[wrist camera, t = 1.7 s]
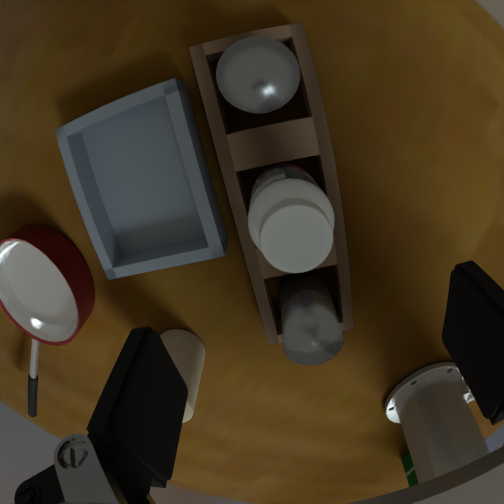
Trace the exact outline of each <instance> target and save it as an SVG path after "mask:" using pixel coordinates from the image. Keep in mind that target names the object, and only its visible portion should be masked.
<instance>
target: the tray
mask: <svg viewBox="0 0 504 504" xmlns="http://www.w3.org/2000/svg"><path fill="white" fill-rule="evenodd" d="M55 133H56V137H57V140H58V144H59V148H60V151H61V155H62V158H63V161H64V165H65V168H66V171H67V174H68V177H69V181H70V184H71V187H72V190H73V193H74V195H75V198H76V201H77V204H78V207H79V210H80V212H81V215H82V218H83V220H84V223H85V226H86V228H87V231H88V233H89V236H90V238H91V241H92V243H93V246H94V248H95V250H96V253H97V255H98V258H99V260H100V262H101V264H102V267H103V269H104V271H105V273H106V276H107V278H108V280H110V279H115V278H120V277H125V276H130V275H135V274H140V273H145V272H150V271H155V270H159V269H164V268H169V267H174V266H179V265H184V264H189V263H194V262H199V261H204V260H209V259H214V258H219V257H224V256H225V254H226V250H227V246H228V242H229V241H228V237H227V234H226V230H225V227H224V223H223V220H222V216H221V212H220V209H219V205H218V202H217V198H216V195H215V191H214V188H213V184H212V180H211V177H210V173H209V170H208V166H207V162H206V159H205V155H204V151H203V148H202V144H201V140H200V137H199V133H198V129H197V125H196V122H195V118H194V114H193V110H192V107H191V103H190V99H189V95H188V91H187V88H186V84H185V82H184V81H182V80H179V79H176V78H173V79H170V80H168V81H165V82H162V83H159V84H156V85H153V86H151V87H148V88H145V89H143V90H140V91H138V92H135V93H133V94H130V95H128V96H125V97H123V98H121V99H118V100H116V101H114V102H111V103H109V104H107V105H104V106H102V107H100V108H98V109H96V110H94V111H92V112H89V113H87V114H85V115H83V116H81V117H79V118H77V119H75V120H73V121H71V122H69V123H68V124H66V125H64V126H62V127H60V128H58V129H56V130H55Z"/></svg>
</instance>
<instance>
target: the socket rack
mask: <svg viewBox="0 0 504 504" xmlns="http://www.w3.org/2000/svg"><path fill="white" fill-rule="evenodd" d="M258 36H260V37H267V38H271V39H274V40H277V41H279V42H281V43H282V44H284V45H286V44H289V45H290V48H291V52H292V53H293V54H294V56H295V58H296V60H297V62H298V65H299V69H300V81H299V83H300V87H301V91H302V95H303V100H304V104H305V108H306V113H307V117H303V118H297V119H292V120H286V121H281V122H276V123H272V124H267V125H262V126H258V127H253V128H249V129H244V130H240V131H236V132H232V133H230V132H229V128H228V124H227V120H226V116H225V113H224V109H223V105H222V101H221V97H220V93H219V89H218V86H217V82H216V78H215V74H214V70H213V66H212V63H211V61H213V60H216V59H220V58H221V56H222V54H223V53H224V52H225V51H226V50H227V49H228V48H229V47H230V46H231V45H232V44H234V43H235V42H237V41H239V40H242V39H245V38H248V37H258ZM189 50H190V54H191V58H192V62H193V66H194V69H195V73H196V77H197V81H198V85H199V89H200V92H201V96H202V100H203V104H204V108H205V112H206V115H207V119H208V123H209V127H210V130H211V134H212V138H213V142H214V146H215V149H216V153H217V157H218V161H219V164H220V168H221V172H222V176H223V179H224V183H225V187H226V190H227V194H228V198H229V202H230V205H231V209H232V213H233V216H234V220H235V224H236V227H237V231H238V235H239V238H240V242H241V246H242V249H243V253H244V257H245V260H246V264H247V268H248V271H249V275H250V279H251V282H252V286H253V289H254V293H255V297H256V300H257V304H258V307H259V311H260V315H261V318H262V322H263V325H264V329H265V333H266V336H267V340H268V343H269V345H272V344H278V343H283V331H282V318H281V319H276V315H275V311H274V307H273V303H272V299H271V295H270V291H269V287H268V283H267V278H271V277H276V276H281V275H286V274H292V273H289V272H284V271H281V270H279V269H277V268H275V267H274V266H272V265H271V264H270V263H269V262H268V261H267V259H266V258H265V257H264V255H263V253H262V252H261V251H260V250H259V249H258V247H257V246H256V245H255V243H254V242H253V240H252V238H251V235H250V232H249V228H248V214H249V206H248V203H247V199H246V195H245V191H244V187H243V183H242V179H241V175H240V171H242V170H247V169H251V168H255V167H260V166H265V165H269V164H274V163H279V162H284V161H288V160H294V159H299V158H304V157H309V156H316V161H317V166H318V171H319V177H320V182H321V188H322V191H323V192H324V193H325V194H326V196H327V197H328V199H329V201H330V203H331V205H332V208H333V212H334V229H333V244H332V248H331V250H330V252H329V254H328V256H327V257H326V259H325V260H324V261H323V262H322V263H321V264H320V265H318V266H317V267H315V268H313V269H316V268H321V267H326V266H331V265H333V267H334V275H335V284H336V293H337V302H338V307H337V308H335V311H336V314H337V318H338V321H339V324H340V327H341V330H342V331H345V330H349V329H354V319H353V304H352V291H351V279H350V268H349V258H348V249H347V240H346V232H345V224H344V216H343V209H342V202H341V195H340V189H339V183H338V176H337V170H336V165H335V159H334V153H333V148H332V143H331V137H330V132H329V127H328V122H327V118H326V113H325V108H324V104H323V99H322V95H321V91H320V86H319V82H318V78H317V74H316V70H315V66H314V62H313V58H312V55H311V51H310V47H309V44H308V40H307V36H306V33H305V29H304V26H303V23H296V24H289V25H283V26H277V27H271V28H265V29H260V30H255V31H250V32H246V33H241V34H237V35H232V36H228V37H224V38H220V39H217V40H213V41H209V42H206V43H202V44H199V45H195V46H192V47H189Z"/></svg>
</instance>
